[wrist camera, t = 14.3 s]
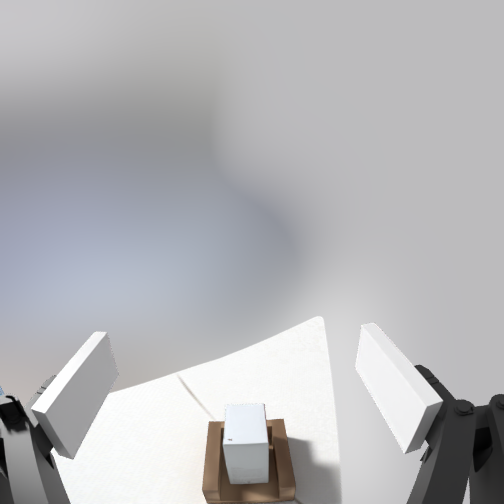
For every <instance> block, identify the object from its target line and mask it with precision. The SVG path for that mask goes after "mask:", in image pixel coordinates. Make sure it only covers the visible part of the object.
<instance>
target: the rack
mask: <svg viewBox="0 0 504 504" xmlns="http://www.w3.org/2000/svg"><path fill="white" fill-rule="evenodd" d="M266 422H267V431H268V441H269V482H268V483H255V484H230V481H229V476H228V471H227V466H226V460H225V454H224V448H223V438H224V426H225V422H209V426H208V436H207V445H206V455H205V465H204V475H203V486H202V491H203V494H204V496H205V499H206V502H207V503H218V504H245V503H267V502H279V501H289V500H294V494H295V489H296V485H295V479H294V474H293V468H292V463H291V457H290V452H289V446H288V441H287V435H286V430H285V425H284V419H274V420H266Z"/></svg>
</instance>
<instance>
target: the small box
mask: <svg viewBox="0 0 504 504" xmlns="http://www.w3.org/2000/svg"><path fill="white" fill-rule="evenodd" d="M223 448H224V454H225V460H226V466H227V471H228V476H229V481H230V484H255V483H268V482H269V441H268V431H267V422H266V413H265V404H237V405H225V426H224V438H223Z"/></svg>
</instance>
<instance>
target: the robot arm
mask: <svg viewBox="0 0 504 504" xmlns="http://www.w3.org/2000/svg"><path fill="white" fill-rule="evenodd" d="M355 369H356V370H357V372H358V374H359V375H360V377H361V379H362V380H363V382H364V384H365V385H366V387H367V389H368V391H369V392H370V394H371V396H372V398H373V399H374V401H375V403H376V404H377V406H378V408H379V410H380V411H381V413H382V415H383V417H384V418H385V420H386V422H387V424H388V425H389V427H390V429H391V431H392V432H393V434H394V436H395V438H396V440H397V441H398V443H399V445H400V447H401V449H402V451H403V452H404V454H406V453H409V452H412V451H415V450H417V449H420V448H421V446H422V444H423V442H424V440H426V441H427V443H428V444H429V446H428V448H427V450H426V451H425V453H424V455H423V457H422V458H421V460H420V461H423V462H422V465H421V468H420V470H419V473H418V476H417V479H416V481H415V484H414V487H413V489H412V492H411V494H410V497H409V499H408V501H407V504H462V502H463V499H464V494H465V490H466V486H467V481H468V477H469V486H470V504H504V394H498V395H495V396H493V397H492V398H491V400H490V402H489V404H488V405H484V406H477V407H475V406H474V405H473V404H472V403H471V402H469V401H466V400H456V399H454V397H453V396H452V395H451V394H450V392H449V391H448V390H447V389H446V388H445V387H444V386H443V385H442V384H441V383H439V380H438V379H437V378H436V377H434V375H433V374H432V373H431V371H430V370H429V369H427V368H425V367H423V366H422V365H416V366H413V365H412V364H411V362H410V361H409V360H408V359H407V358H406V357H405V356H404V354H403V353H402V352H401V351H400V350H399V349H398V348H397V347H396V346H395V345H394V343H393V342H392V341H391V340H390V339H389V338H388V337H387V335H386V334H385V333H384V332H383V331H382V330H381V329H380V328H379V327H378V326H377V325H376V323H369V324H362V326H361V334H360V341H359V347H358V353H357V359H356V365H355ZM118 375H119V373H118V370H117V366H116V363H115V360H114V356H113V353H112V349H111V345H110V341H109V338H108V334H107V332H94V334H93V335H92V336H91V337H90V338H89V339H88V340H87V341H86V343H85V344H84V345H83V346H82V347H81V348H80V349H79V351H78V352H77V353H76V354H75V355H74V356H73V358H72V359H71V360H70V361H69V362H68V363H67V365H66V366H65V367H64V368H63V369H62V370H61V372H60V373H59V374H58V375H57V376H56V375H54V376H52V377H51V378H49V379H48V380H46V381H45V383H44V384H43V385H42V386H41V388H40V389H39V390H38V391H37V393H35V395H34V396H33V397H32V398H31V400H30V401H29V402H28V403H27V404H26V406H25V407H24V408H23V407H22V405H21V403H20V401H19V399H18V397H17V396H16V395H14V394H4V392H3V390H2V388H1V387H0V504H71V503H70V501H69V499H68V496H67V494H66V491H65V489H64V486H63V483H62V481H61V478H60V475H59V472H58V469H57V466H56V463H55V460H54V457H53V455H52V453H51V452H50V451H51V449H52V448H53V447H54V448H55V450H56V451H57V453H58V454H59V455H60V456H63V457H66V458H69V459H74V457H75V455H76V453H77V451H78V449H79V447H80V445H81V443H82V441H83V439H84V438H85V436H86V434H87V432H88V430H89V428H90V426H91V424H92V422H93V420H94V419H95V417H96V415H97V413H98V411H99V409H100V408H101V406H102V404H103V402H104V400H105V398H106V397H107V395H108V393H109V391H110V389H111V388H112V386H113V384H114V382H115V381H116V379H117V377H118Z"/></svg>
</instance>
